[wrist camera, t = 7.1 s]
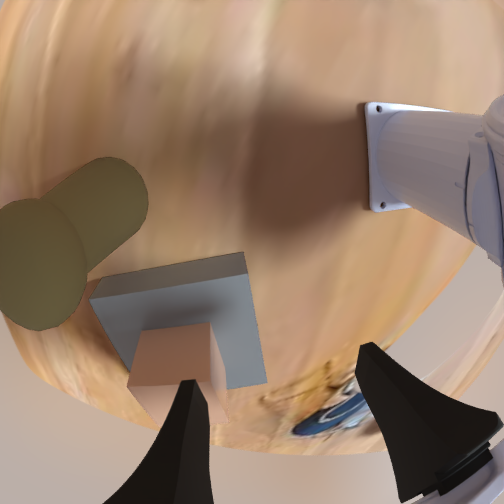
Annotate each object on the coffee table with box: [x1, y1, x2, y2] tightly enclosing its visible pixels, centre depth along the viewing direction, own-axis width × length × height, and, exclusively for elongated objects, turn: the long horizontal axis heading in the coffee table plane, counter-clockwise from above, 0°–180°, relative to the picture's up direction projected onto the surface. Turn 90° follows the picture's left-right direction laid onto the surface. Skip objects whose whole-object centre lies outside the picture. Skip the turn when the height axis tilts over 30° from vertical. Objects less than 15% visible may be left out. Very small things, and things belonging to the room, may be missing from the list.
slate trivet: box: [89, 252, 268, 389], centre depth 20 cm, size 11×11×3 cm
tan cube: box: [127, 322, 229, 427], centre depth 16 cm, size 5×5×5 cm
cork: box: [0, 157, 148, 331], centre depth 11 cm, size 6×6×11 cm
